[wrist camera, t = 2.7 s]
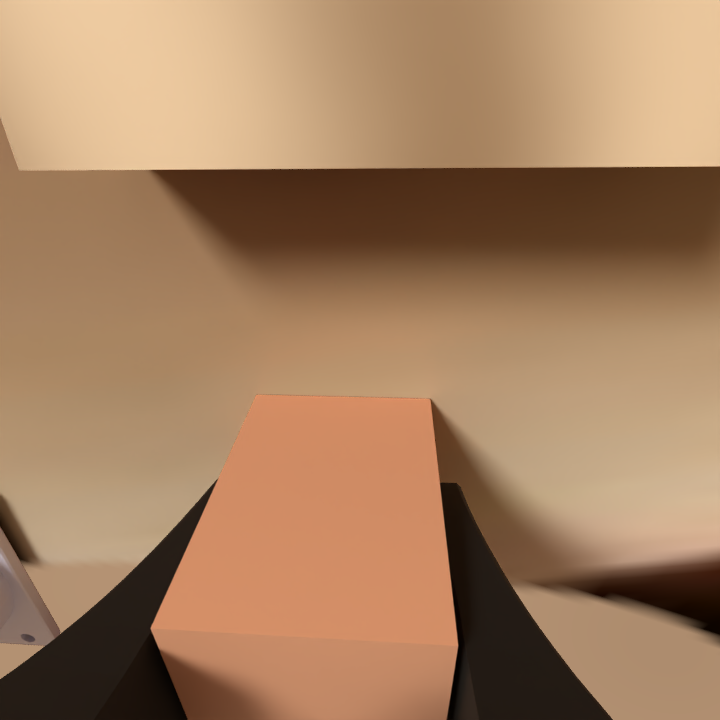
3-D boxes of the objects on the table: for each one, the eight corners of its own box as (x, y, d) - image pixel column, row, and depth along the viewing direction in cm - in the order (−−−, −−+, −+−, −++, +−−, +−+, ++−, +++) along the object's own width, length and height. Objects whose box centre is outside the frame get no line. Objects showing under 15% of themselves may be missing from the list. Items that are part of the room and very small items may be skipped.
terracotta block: (274, 515, 14) (205, 761, 9) (256, 394, 12) (150, 629, 7) (421, 521, 14) (437, 779, 9) (429, 399, 12) (458, 646, 7)
